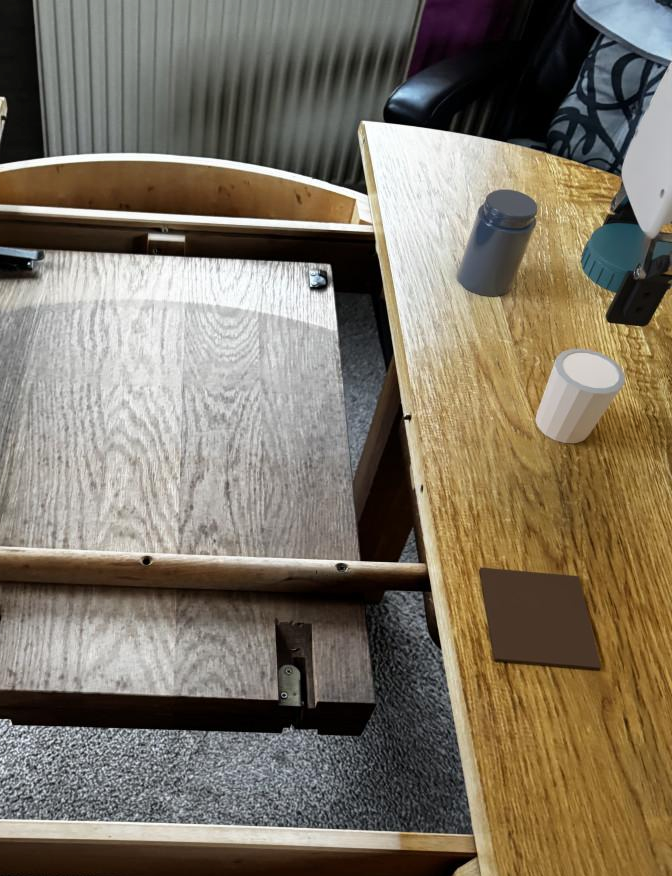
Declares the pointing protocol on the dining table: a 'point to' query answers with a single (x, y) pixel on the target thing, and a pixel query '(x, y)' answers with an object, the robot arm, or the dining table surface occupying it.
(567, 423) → the white short cylinder
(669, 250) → the lid
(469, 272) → the jar
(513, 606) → the coaster
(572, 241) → the dining table surface
